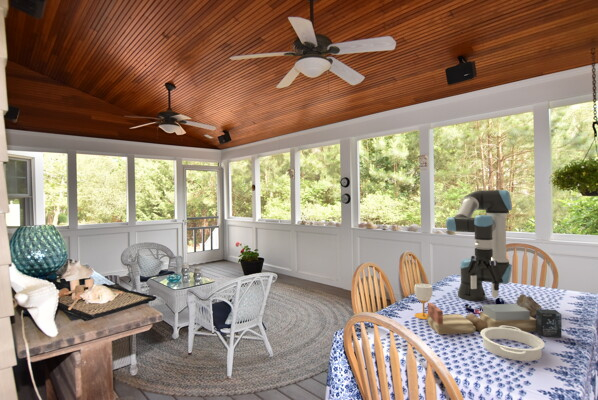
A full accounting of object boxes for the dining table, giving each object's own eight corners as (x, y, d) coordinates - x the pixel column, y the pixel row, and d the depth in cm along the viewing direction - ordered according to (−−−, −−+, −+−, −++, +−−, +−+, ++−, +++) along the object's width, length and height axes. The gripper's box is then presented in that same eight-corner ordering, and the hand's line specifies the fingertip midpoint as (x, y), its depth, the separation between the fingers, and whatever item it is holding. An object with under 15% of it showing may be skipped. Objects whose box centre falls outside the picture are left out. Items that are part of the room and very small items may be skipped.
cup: (432, 314, 179) (432, 284, 179) (433, 320, 171) (433, 288, 170) (414, 312, 182) (414, 282, 182) (414, 318, 174) (414, 287, 173)
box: (541, 336, 150) (541, 312, 150) (535, 331, 155) (535, 308, 155) (562, 338, 148) (562, 313, 148) (555, 332, 154) (555, 309, 153)
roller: (464, 322, 166) (467, 312, 166) (474, 324, 166) (476, 315, 166) (476, 330, 156) (478, 320, 156) (486, 333, 156) (489, 322, 156)
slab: (483, 312, 166) (483, 304, 166) (515, 311, 167) (515, 303, 166) (495, 320, 156) (495, 311, 156) (529, 319, 157) (529, 310, 156)
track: (427, 323, 166) (427, 302, 166) (519, 321, 168) (519, 300, 168) (438, 334, 154) (438, 311, 154) (537, 331, 156) (537, 308, 156)
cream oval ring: (550, 372, 121) (550, 359, 121) (479, 358, 132) (479, 346, 132) (540, 341, 146) (540, 330, 146) (481, 331, 157) (481, 321, 157)
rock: (530, 323, 171) (545, 310, 168) (509, 305, 177) (524, 292, 174) (530, 320, 179) (545, 307, 176) (510, 302, 184) (524, 290, 181)
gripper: (458, 244, 172) (459, 286, 172) (497, 253, 147) (497, 301, 148) (471, 243, 173) (472, 284, 174) (512, 252, 149) (512, 300, 150)
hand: (483, 292), depth 161 cm, fingers open, 13 cm apart
